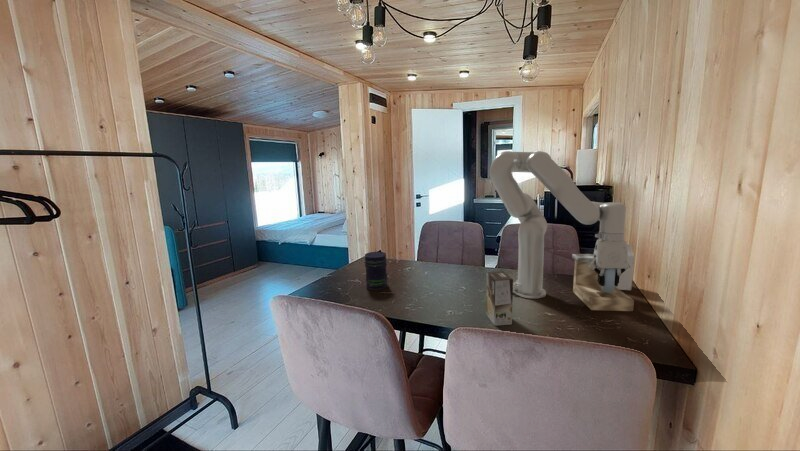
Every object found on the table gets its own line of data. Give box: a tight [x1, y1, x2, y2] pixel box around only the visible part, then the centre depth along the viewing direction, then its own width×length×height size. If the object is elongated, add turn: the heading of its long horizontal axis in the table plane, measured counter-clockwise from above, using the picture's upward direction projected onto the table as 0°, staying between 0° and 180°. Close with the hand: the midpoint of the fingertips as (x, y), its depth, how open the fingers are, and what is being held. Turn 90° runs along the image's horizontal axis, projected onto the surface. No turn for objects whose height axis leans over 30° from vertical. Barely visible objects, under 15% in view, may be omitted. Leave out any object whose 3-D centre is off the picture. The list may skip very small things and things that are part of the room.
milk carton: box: [615, 243, 635, 291], centre depth 139 cm, size 7×7×19 cm
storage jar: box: [364, 251, 388, 291], centre depth 151 cm, size 10×10×15 cm
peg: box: [601, 269, 616, 293], centre depth 122 cm, size 4×4×10 cm
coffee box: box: [485, 270, 514, 327], centre depth 114 cm, size 9×6×16 cm
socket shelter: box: [571, 253, 635, 312], centre depth 127 cm, size 16×18×16 cm
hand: (607, 284), depth 123 cm, fingers closed on peg, 4 cm apart
